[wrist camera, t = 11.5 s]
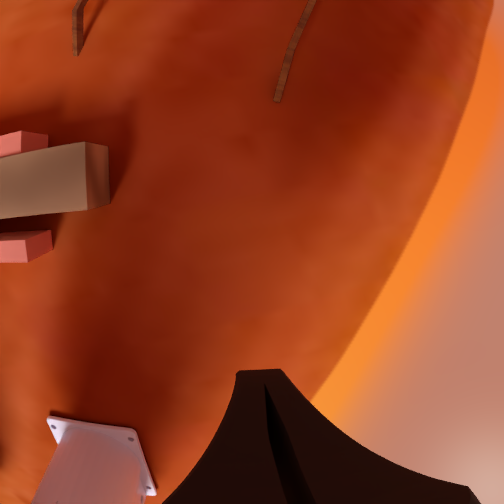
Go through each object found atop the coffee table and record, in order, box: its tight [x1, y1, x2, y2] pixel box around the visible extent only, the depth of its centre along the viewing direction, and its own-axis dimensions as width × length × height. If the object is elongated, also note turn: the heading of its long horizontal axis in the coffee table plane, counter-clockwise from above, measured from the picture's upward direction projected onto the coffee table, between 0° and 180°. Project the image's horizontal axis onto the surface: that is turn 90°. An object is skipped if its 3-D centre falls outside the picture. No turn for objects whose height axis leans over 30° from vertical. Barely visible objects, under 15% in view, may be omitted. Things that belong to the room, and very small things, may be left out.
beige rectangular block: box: [0, 142, 110, 219], centre depth 14 cm, size 3×9×4 cm, turn 91°
